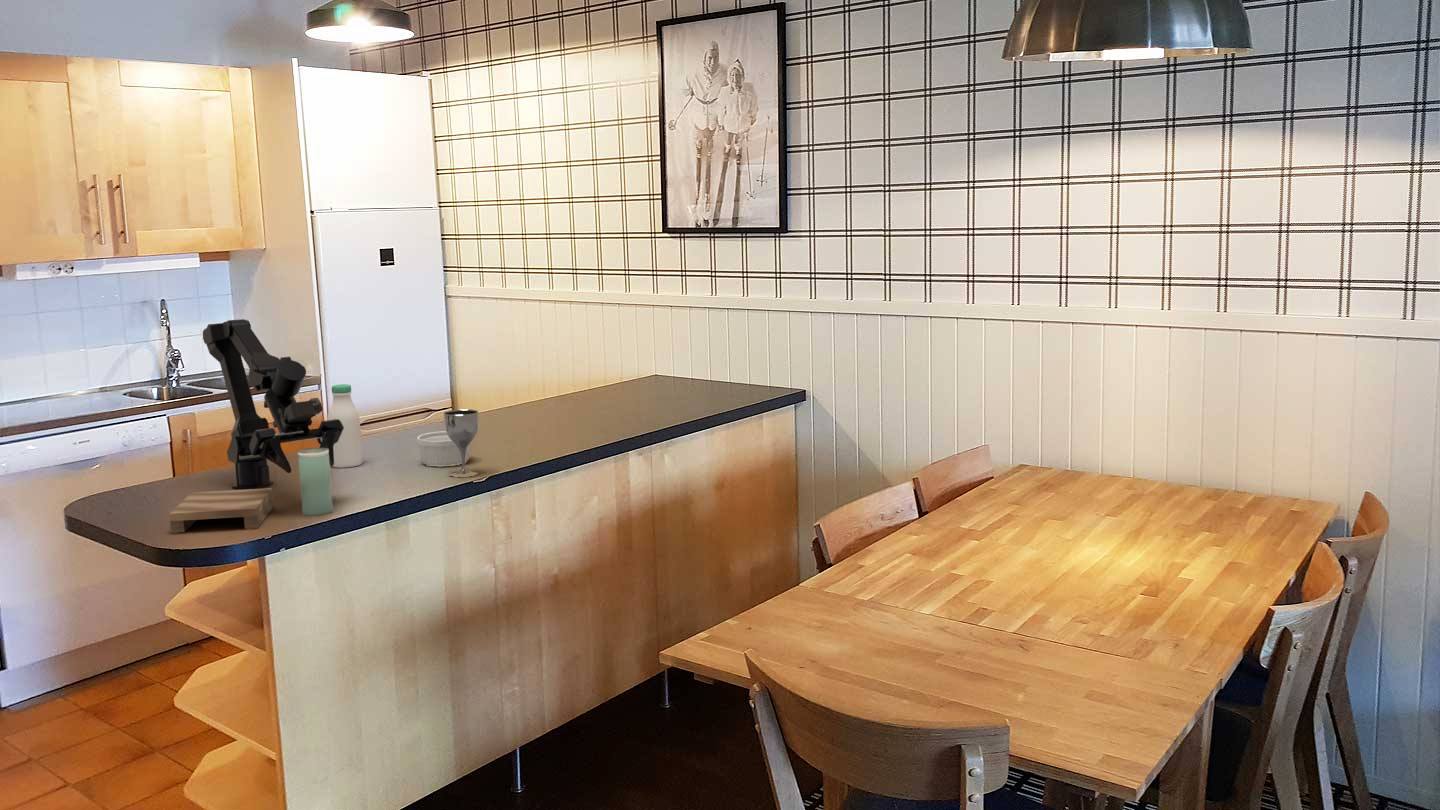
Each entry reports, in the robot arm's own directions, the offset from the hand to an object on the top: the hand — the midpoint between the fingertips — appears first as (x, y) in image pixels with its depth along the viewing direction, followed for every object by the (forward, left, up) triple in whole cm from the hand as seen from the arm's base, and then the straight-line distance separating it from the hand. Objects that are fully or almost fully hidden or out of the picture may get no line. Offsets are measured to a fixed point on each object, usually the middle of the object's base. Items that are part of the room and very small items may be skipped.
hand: (311, 468), depth 242 cm
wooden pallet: (-14, -11, -9) cm, 20 cm away
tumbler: (+1, -1, -9) cm, 9 cm away
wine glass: (+14, +38, -9) cm, 42 cm away
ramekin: (+3, +49, -9) cm, 50 cm away
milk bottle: (-20, +41, -9) cm, 47 cm away
